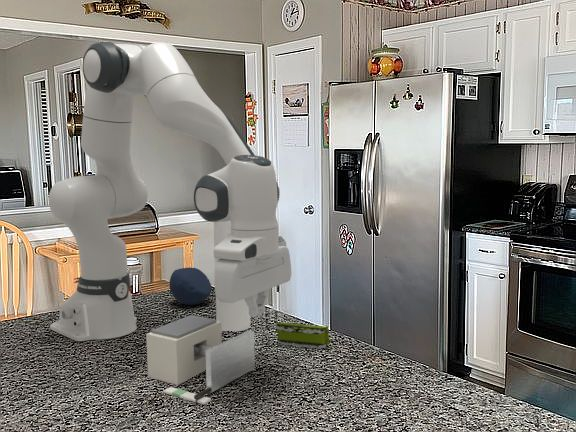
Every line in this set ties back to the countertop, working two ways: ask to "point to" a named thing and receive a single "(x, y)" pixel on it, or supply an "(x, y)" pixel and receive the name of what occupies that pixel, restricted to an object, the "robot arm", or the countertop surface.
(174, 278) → the decorative stone
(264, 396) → the countertop surface
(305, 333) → the toy tank
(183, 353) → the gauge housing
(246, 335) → the plate
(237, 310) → the container
